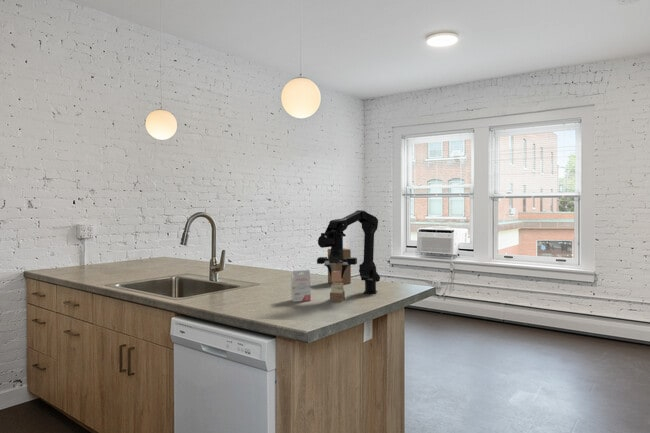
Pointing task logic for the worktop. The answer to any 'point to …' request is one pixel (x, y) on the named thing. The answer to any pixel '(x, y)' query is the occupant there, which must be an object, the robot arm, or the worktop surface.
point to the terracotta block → (336, 276)
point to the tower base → (337, 296)
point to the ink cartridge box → (300, 286)
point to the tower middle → (337, 287)
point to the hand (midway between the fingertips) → (337, 278)
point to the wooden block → (339, 268)
